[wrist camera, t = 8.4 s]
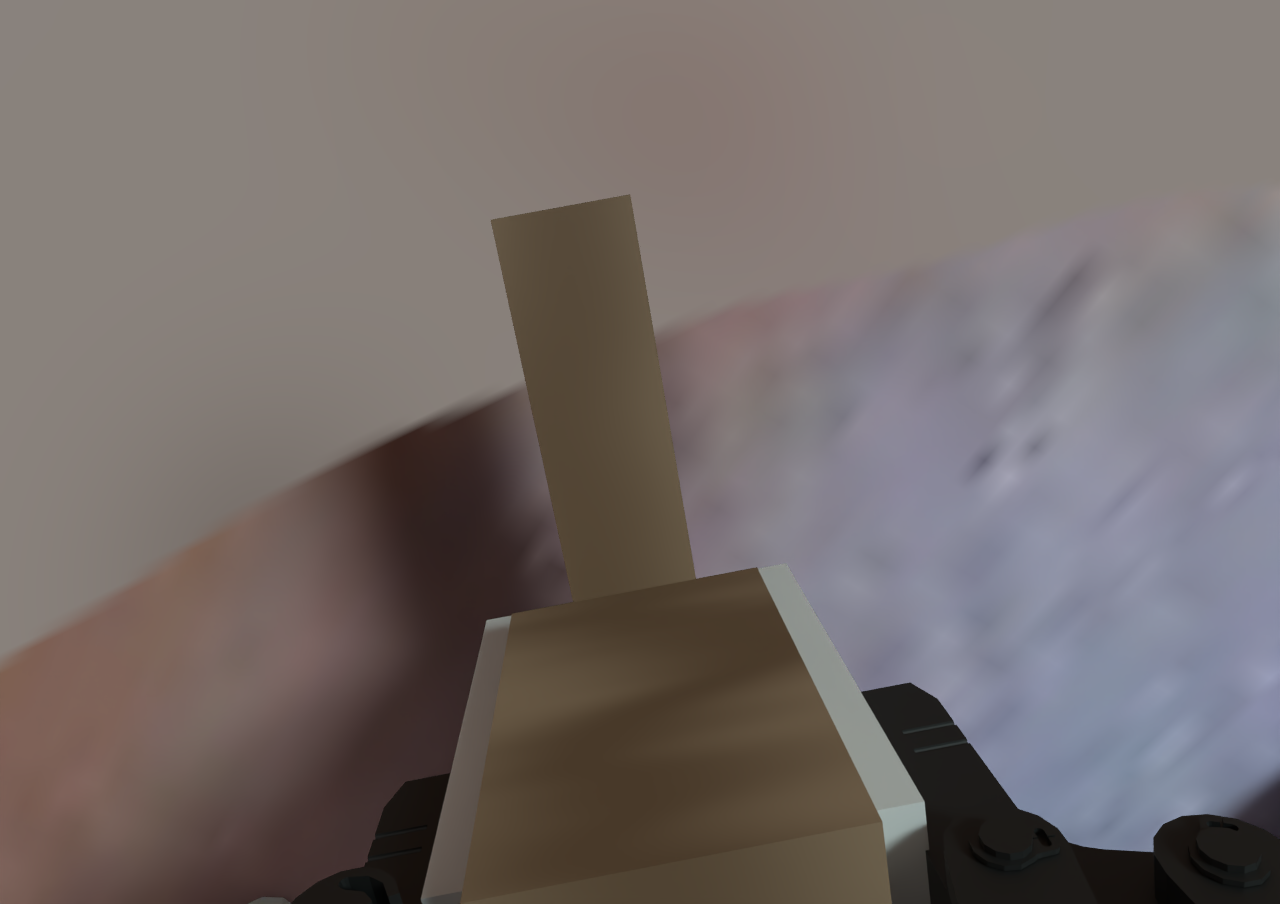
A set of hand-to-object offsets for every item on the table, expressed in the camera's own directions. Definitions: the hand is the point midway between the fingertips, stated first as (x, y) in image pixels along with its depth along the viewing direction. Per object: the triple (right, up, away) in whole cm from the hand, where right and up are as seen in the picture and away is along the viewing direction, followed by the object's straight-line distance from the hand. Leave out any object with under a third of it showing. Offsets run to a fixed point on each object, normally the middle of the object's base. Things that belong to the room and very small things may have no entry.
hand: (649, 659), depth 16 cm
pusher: (0, 0, +1) cm, 2 cm away
